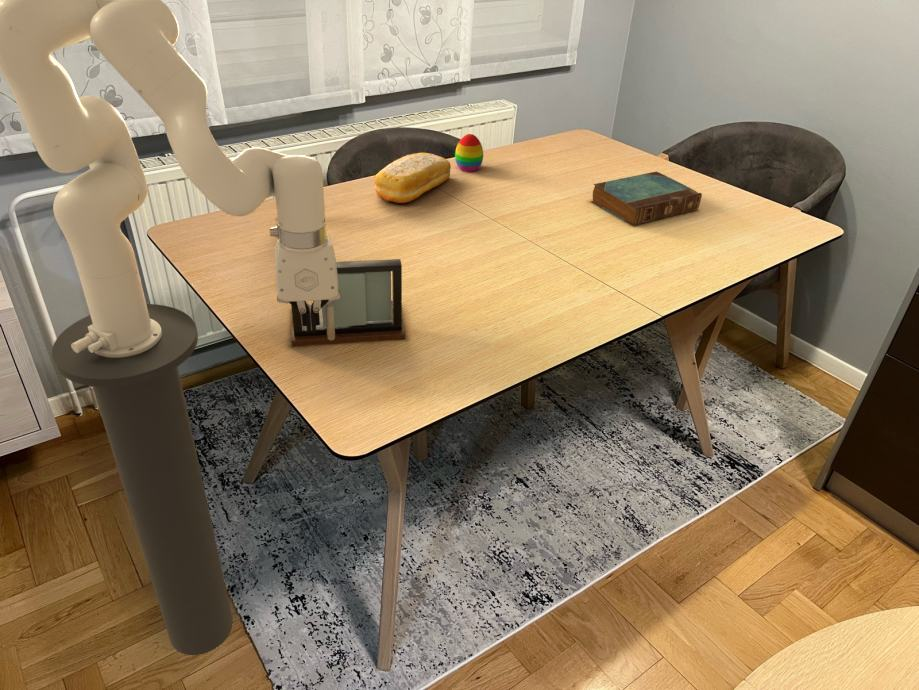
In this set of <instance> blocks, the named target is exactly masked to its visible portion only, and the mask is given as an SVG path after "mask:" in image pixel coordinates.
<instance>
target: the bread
mask: <svg viewBox="0 0 919 690" xmlns="http://www.w3.org/2000/svg"><path fill="white" fill-rule="evenodd" d="M451 168H452V166H451V162H450V161H449V160H448V159H446V158H445V157H442V156H439V155H437V154H434V153H430V152H429V153H428V152H418V153H412V154H406V155H405V156H401V157H400V158H397V159H395V160H394V161H392V162H391V163H389V164H388V165H386V166H385V167H383V168H382V169H381V170H379V172H377V173H376V174H375V177H374V185H375V187H374V192H375V194H376V196H377V197H379V198H380V199H381V200H383V201H385V202H388V203H391V202H393V203H396V204H407V203H410V202H412V201H414V200H416V199H418V198H419V197H420V196H422V195H423V194H424V193H426V192H429V191H430V190H432V189H433V188H436V187H438V186H440V185H441V184H444V183H445V181H447V180H449V178H450V176H451Z"/></svg>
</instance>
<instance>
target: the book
mask: <svg viewBox="0 0 919 690" xmlns="http://www.w3.org/2000/svg"><path fill="white" fill-rule="evenodd" d="M592 184H593V186H594V187H593V190H592V200H591V201H590V203H592V204H594V205H596V206H597V207H599V208H601V209H603V210H604V211H606V212H607V213H609V214H611V215H613V216H614V217H616V218H618V219H619V220H621V221H624V222H625V223H627V224H629V225H630V226H632V227H634V226H639V225H642V224H647V223H651V222H656V221H658V220H663V219H667V218H671V217H675V216H679V215H683V214H687V213H691V212H696V211H698V210H699V208H700V204H701V200H702V197H703V194H702V192H698V191H696V190H695V189H693V188H692V187H690V186H687V185H685V184H683V183H681V182H679V181H677V180H675V179H673V178H671V177H669V176H667V175H666V174H663V173H661V172H659V171H651V172H647V173H642V174H637V175H632V176H627V177H626V176H625V177H621V178H618V179H617V178H616V179H612V180H607V181H602V182H598V183H592Z"/></svg>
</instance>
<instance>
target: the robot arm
mask: <svg viewBox="0 0 919 690" xmlns="http://www.w3.org/2000/svg"><path fill="white" fill-rule="evenodd" d="M179 34H180V28H179V23H178V20H177V18H176V15H175V14H174V13H173V10H172V9H171V8H170V7H169V6H168V5H167V4H166V3H165V2H164V1H162V0H0V73H1V75H2V76H3V78H4V80H5V82H6V83H7V85H8V87H9V89H10V93H11V94H12V96H13V98H14V101H15V104H16V106H17V108H18V111H19V113H20V115H21V117H22V120H23V122H24V124H25V126H26V129H27V131H28V134H29V135H30V138H31V140H32V143H33V145H34V148H35V150H36V151H37V153H38V155H39V157H40V158H41V160H42V161H43V163H44V165H46V166H47V167H48V168H49V169H51V170H52V171H54V172H57V173H59V174H70V173H75V172H78V171H80V170H82V169H84V168H86V167H89V169H88V170H86V171H84V172H83V173H81V174H79V175H78V176H76V177H74V178H72V179H71V180H70V181H68V182H67V183H66V184H64V185H63V186H62V187H61V188H60V189H59V190H58V192H57V193H56V195H55V197H54V200H53V204H52V209H53V215H54V218H55V220H56V222H57V224H58V227H59V228H60V230H61V232H62V233H63V235H64V237H65V239H66V242H67V244H68V246H69V249H70V252H71V255H72V258H73V261H74V264H75V269H76V271H77V273H78V274H77V275H78V278H79V280H80V284H81V288H82V291H83V294H84V298H85V301H86V306H87V308H88V313H89V315H90V316H91V319H92V323H93V324H92V325H90V326H88V330H89V333H87V334H86V335H85V336H86V337H84V338H82V339H80V340H78V341H76V342H74V343H72V344H71V347H72V349H73V350H74V351H75V352H76V353H79V352H81V351H83V350H84V349H86V348H87V347H88V350H89V351H90V352H91V353H93V352H94V353H96V354H98V355H100V356H104V357H110V358H122V357H129V356H133V355H137V354H140V353H142V352H145V351H147V350H149V349H150V348H152V347H153V346H154V345H156V344H157V343H158V341H159V340H160V338H161V336H162V331H161V327H160V325H159V324H158V323H157V322H156V321H154V320H152V319H150V318H149V314H148V309H147V305H146V304H147V301H146V297H145V293H144V289H143V285H142V280H141V275H140V272H139V271H140V270H139V267H138V262H137V259H136V253H135V251H134V249H133V246H132V243H131V242H130V240H129V239H128V238H127V237H126V235H125V234H124V233H123V231H122V229H121V223H122V222H123V221H125V220H126V219H127V218H128V217H129V216H131V215H132V214H133V213H134V212H135V211H137V210H138V209H139V208H140V207H141V206H142V205H143V204H144V203H145V201H146V199H147V196H148V183H147V179H146V178H147V177H146V175H145V171H144V169H143V167H142V164H141V161H140V159H139V156H138V152H137V150H136V148H135V145H134V142H133V138H132V136H131V133H130V131H129V128H128V126H127V123H126V121H125V120H124V118H123V116H122V114H121V113H120V112H119V110H117V109H116V107H114V106H113V105H112V104H111V103H110V102H109V101H108V100H105V99H104V98H101V97H100V96H95V95H81V96H78V94H77V91H76V88H75V85H74V82H73V80H72V78H71V76H70V75H69V73H68V72H67V70H66V69H65V68H64V67H63V65H62V64H61V63H60V61H58V60H57V59H56V58H55V57H54V56H53V53H54V52H56V51H59V50H61V49H64V48H66V47H70V46H73V45H75V44H78V43H81V42H84V41H86V40H91V42H92V43H93V45H94V47H95V48H96V49H97V50H98V52H99V53H100V54H101V55H102V57H103V58H104V59H105V60H106V61H107V62H108V63H109V64H110V65H111V66H112V67H113V68H114V70H115V71H116V72H117V73H118V74H119V75H120V76H121V77H122V78H123V80H124V81H126V82H127V84H128V85H129V86H130V87H131V89H133V90H134V91H135V92H136V93H137V95H139V97H140V98H141V99H142V100H143V101H144V102H145V103H146V105H148V107H149V108H150V109H151V110H152V111H153V112H154V113H155V114H156V115H157V116H158V117H159V119H160V121H161V122H162V123H163V126H164V129H165V133H166V137H167V140H168V143H169V145H170V148H171V150H172V152H173V154H174V157H175V159H176V162H177V164H178V166H179V167H180V169H181V170H182V172H183V173H184V174H185V177H186V178H187V179H188V180H189V181H190V182H191V183H192V184H193V186H195V187H196V188H197V190H198V191H199V192H200V193H201V194H202V195H203V196H204V197H205V198H206V199H207V200H208V201H209V202H210V203H211V204H212V205H213V206H215V207H216V208H217V209H219V210H220V211H222V212H224V213H225V214H226V215H230V216H234V217H244V216H248V215H251V214H253V212H255V211H256V210H257V209H258V208H259V207H260V206H261V205H262V204H263V203H264V201H265V200H266V199H268V198H269V199H270V198H271V197H274V199H275V207H276V214H277V225H276V226H274V227H269V236H270V237H275V238H277V240H276V243H275V248H274V276H275V277H274V278H275V289H276V302H278V303H281V304H289V305H290V306H291V305H293V306H294V307H295V308H297V309H298V310H299V312H300V313H301V315H302V325H303V326H307V333H310V332H311V325H312V332H316V325H320V317H319V312H320V309H321V308H322V307H323V306H324V305H325V304H326V303H327V302H328V301H333V300H337V299H340V291H339V288H338V275H337V266H336V262H337V260H336V255H335V249H334V245H333V241H332V239H331V238H330V236H328V234H327V221H326V207H325V192H324V177H323V168H322V165H321V163H320V162H319V161H318V159H316V158H314V157H312V156H309V155H304V154H303V155H302V154H292V155H288V154H285V153H280V152H277V151H273V150H271V149H267V148H264V147H263V148H262V147H249V148H246V149H243V151H241V152H240V153H239V154H238V155H237V156H235V157H234V158H233V159H232V160H231V159H230V158H229V157H228V155H227V154H225V152H224V151H223V150H222V149H221V147H220V146H219V144H218V143H217V141H216V140H215V138H214V136H213V134H212V132H211V130H210V126H209V123H208V117H207V106H208V105H207V104H208V102H207V101H208V86H207V84H206V83H205V81H204V80H203V79H202V78H201V76H200V75H199V74H198V73H197V72H196V71H195V70H194V68H193V67H192V66H191V65H190V64H189V63H188V62H187V61H186V59H185V58H184V57H183V56H182V54H180V53H179V51H178V50H177V49H176V47H174V46H175V44H176V43H177V40H178V39H179ZM310 301H311V304H310V305H311V306H308V305H309V303H307V302H310ZM310 311H311V316H310Z"/></svg>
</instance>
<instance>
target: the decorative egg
mask: <svg viewBox="0 0 919 690" xmlns="http://www.w3.org/2000/svg"><path fill="white" fill-rule="evenodd" d="M454 158H455V164H456V165H457V167H458V168H459V170H461V171H464V172H475V171H477V170H479V168H480V167H481V166H482V163H483V161H484V148H483V145H482V143H481V140H480V139H479V138H478V137H477V136H476V135H475V134H472V133H468V134H465V135H464V136H462V137H461V139H460V140H459V141H458V142H457V145H456V148H455V151H454Z"/></svg>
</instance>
